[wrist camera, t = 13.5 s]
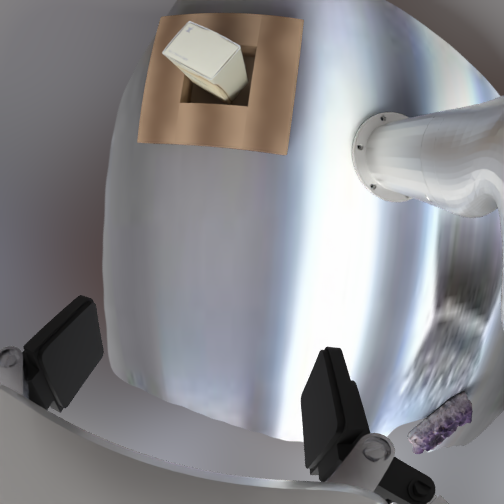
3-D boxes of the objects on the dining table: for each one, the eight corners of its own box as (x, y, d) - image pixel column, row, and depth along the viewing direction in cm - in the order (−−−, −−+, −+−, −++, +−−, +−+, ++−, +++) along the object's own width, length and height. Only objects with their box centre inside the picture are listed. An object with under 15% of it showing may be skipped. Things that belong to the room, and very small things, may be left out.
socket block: (300, 35, 28) (303, 19, 23) (284, 155, 34) (286, 154, 29) (173, 30, 28) (160, 16, 23) (153, 143, 34) (137, 142, 29)
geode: (454, 386, 47) (472, 412, 37) (467, 389, 50) (484, 412, 40) (399, 436, 52) (411, 463, 43) (418, 435, 55) (430, 459, 46)
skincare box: (192, 83, 30) (157, 53, 19) (213, 58, 29) (187, 18, 17) (230, 106, 31) (210, 82, 20) (251, 80, 30) (242, 45, 18)
